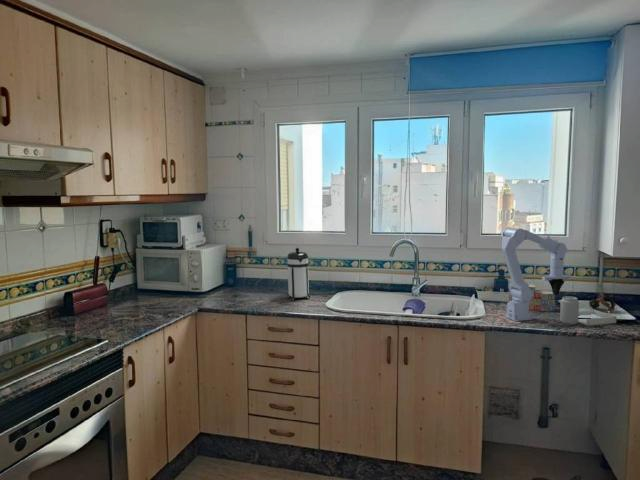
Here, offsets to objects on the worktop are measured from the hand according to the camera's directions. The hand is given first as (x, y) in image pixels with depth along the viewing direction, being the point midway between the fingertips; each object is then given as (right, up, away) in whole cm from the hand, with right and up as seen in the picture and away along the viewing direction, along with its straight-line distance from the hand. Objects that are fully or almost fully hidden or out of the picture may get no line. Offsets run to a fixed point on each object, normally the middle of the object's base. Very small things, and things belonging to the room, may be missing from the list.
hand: (555, 294), depth 229 cm
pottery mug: (+26, -9, +7) cm, 28 cm away
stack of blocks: (-6, -9, +14) cm, 17 cm away
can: (0, -12, -12) cm, 17 cm away
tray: (+12, -11, -10) cm, 19 cm away
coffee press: (-128, -8, +51) cm, 138 cm away
